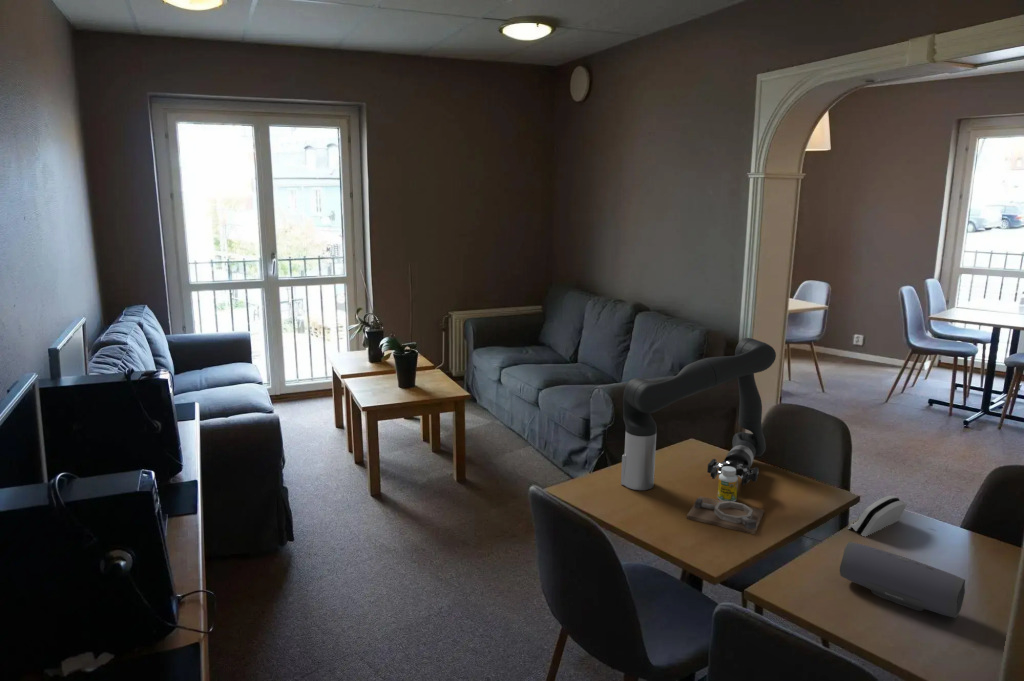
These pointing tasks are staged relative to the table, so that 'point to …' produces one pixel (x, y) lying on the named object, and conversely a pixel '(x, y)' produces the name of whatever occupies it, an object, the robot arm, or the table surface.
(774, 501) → the table surface
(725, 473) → the supplement bottle
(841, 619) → the table surface
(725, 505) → the stand
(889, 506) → the white two-tone part
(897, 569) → the bluetooth speaker
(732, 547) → the table surface
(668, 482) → the table surface
